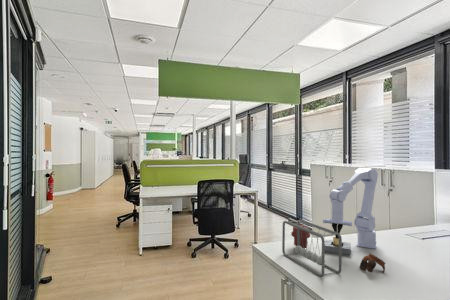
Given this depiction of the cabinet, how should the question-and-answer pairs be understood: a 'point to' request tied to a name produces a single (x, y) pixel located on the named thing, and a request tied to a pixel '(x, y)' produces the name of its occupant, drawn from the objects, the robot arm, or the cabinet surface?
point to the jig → (337, 248)
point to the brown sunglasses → (371, 263)
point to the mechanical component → (300, 236)
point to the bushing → (335, 241)
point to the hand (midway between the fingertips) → (337, 237)
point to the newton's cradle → (309, 254)
